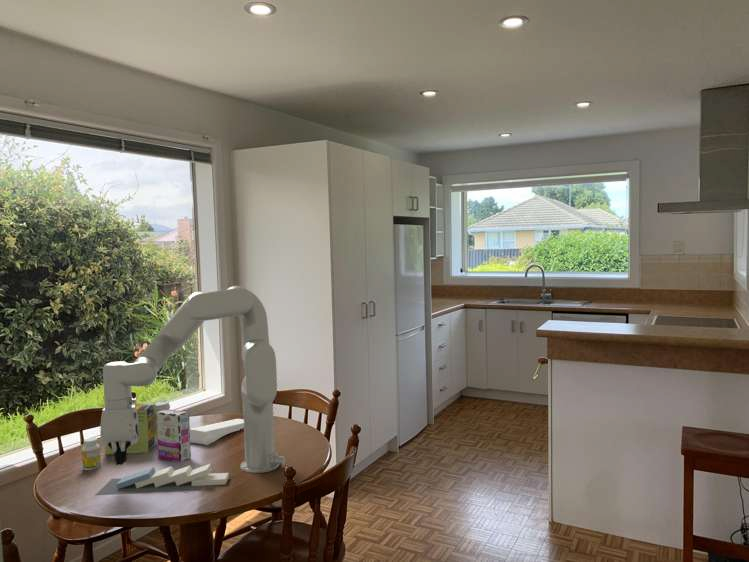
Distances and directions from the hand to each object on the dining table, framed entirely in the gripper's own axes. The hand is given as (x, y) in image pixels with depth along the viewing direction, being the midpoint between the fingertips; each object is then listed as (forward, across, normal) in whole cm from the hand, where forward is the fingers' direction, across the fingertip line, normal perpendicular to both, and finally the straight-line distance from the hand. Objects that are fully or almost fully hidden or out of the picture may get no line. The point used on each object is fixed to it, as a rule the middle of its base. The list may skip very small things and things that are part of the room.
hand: (121, 463), depth 171 cm
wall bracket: (+8, -19, -50) cm, 54 cm away
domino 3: (+6, -17, 0) cm, 18 cm away
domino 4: (+6, -22, 0) cm, 22 cm away
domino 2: (+6, -10, 0) cm, 12 cm away
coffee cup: (+8, +6, -53) cm, 54 cm away
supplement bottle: (+8, +17, -18) cm, 26 cm away
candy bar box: (+8, -9, -24) cm, 26 cm away
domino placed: (+6, 0, 0) cm, 6 cm away
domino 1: (+6, -5, 0) cm, 8 cm away
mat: (+8, -10, 0) cm, 12 cm away
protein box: (+8, +10, -36) cm, 38 cm away
